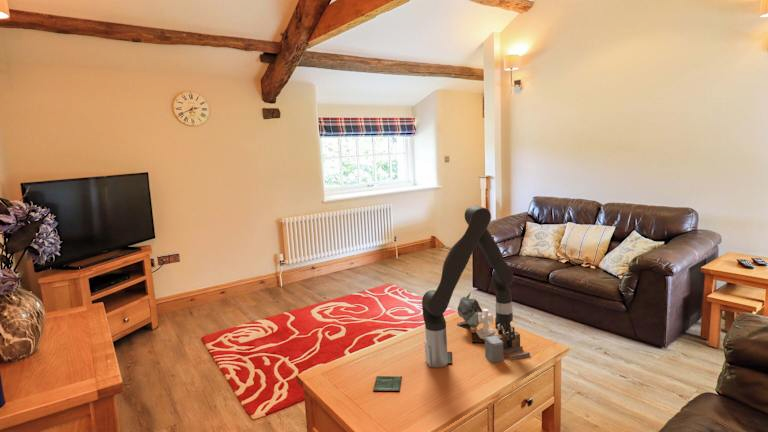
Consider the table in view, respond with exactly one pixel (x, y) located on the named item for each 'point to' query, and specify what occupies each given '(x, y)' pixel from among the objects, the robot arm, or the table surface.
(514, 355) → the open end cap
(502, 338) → the walnut slat
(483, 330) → the figurine
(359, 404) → the table surface
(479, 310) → the narwhal figurine
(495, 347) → the socket end cap
